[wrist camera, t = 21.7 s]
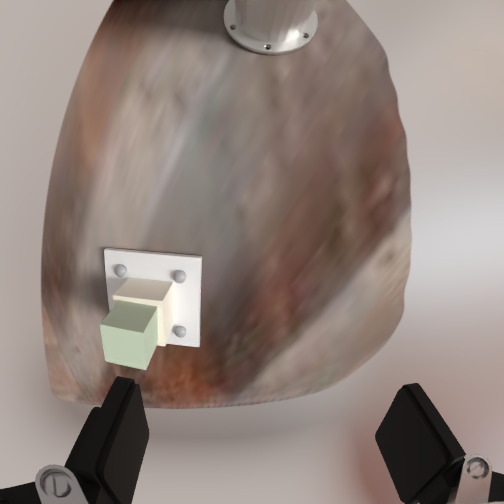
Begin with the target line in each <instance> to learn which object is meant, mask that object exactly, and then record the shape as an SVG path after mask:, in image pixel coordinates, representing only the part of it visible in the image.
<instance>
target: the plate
mask: <svg viewBox="0 0 504 504" xmlns="http://www.w3.org/2000/svg"><path fill="white" fill-rule="evenodd" d="M104 256H105V271H106V283H107V293H108V302H109V310H110V311H111V310H112V309H113V308H114V301H113V295H114V293H115V292H116V291H117V290H118V289H119V288H120V287H121V286H122V285H123V284H124V283H125V281H126V280H127V279H128V278H139V279H149V280H159V281H170V282H173V296H174V325H173V328H172V330H171V333H170V335H169V338H168V340H167V343H168V344H176V345H184V346H193V347H199V345H200V303H201V271H202V256H198V255H186V254H174V253H162V252H150V251H138V250H127V249H115V248H106V249H104Z"/></svg>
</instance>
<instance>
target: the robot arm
mask: <svg viewBox="0 0 504 504" xmlns="http://www.w3.org/2000/svg"><path fill="white" fill-rule="evenodd" d="M317 1H318V0H229V1H228V2H227V4H226V6H225V9H224V17H223V18H224V25H225V27H226V30H227V32H228V33H229V35H230V36H231V37H232V38H233V39H234V40H235V41H236V42H237V43H238V44H240V45H241V46H243V47H244V48H247V49H249V50H251V51H254V52H257V53H262V54H268V55H280V54H287V53H290V52H293V51H296V50H298V49H300V48H302V47H303V46H305V45H306V44H307V43H308V42H309V41H310V40H311V39H312V37H313V35H314V34H315V32H316V29H317V22H318V19H317V14H316V11H315V9H314V7H315V5H316V3H317ZM231 29H234V30H231ZM304 37H306V38H304ZM266 48H269V50H267V49H266ZM375 438H376V442H377V444H378V447H379V449H380V451H381V454H382V456H383V458H384V461H385V463H386V466H387V468H388V470H389V473H390V475H391V478H392V480H393V483H394V485H395V488H396V490H397V492H398V495H399V497H400V500H401V501H402V502H404V503H405V504H418V503H420V504H504V474H500V473H497V472H493V471H492V466H491V463H490V462H489V460H488V459H487V458H485V457H484V456H482V455H478V454H474V455H471V456H469V457H467V458H466V460H465V458H464V456H465V455H466V453H465V452H464V450H463V449H462V447H461V446H460V444H459V442H458V441H457V439H456V438H455V436H454V435H453V433H452V432H451V430H450V429H449V427H448V425H447V424H446V423H445V421H444V420H443V418H442V416H441V415H440V414H439V412H438V411H437V409H436V408H435V406H434V405H433V403H432V402H431V400H430V399H429V397H428V396H427V395H426V393H425V392H424V391H423V389H422V387H421V386H420V385H419V384H418V383H413V384H407V385H404V386H402V388H401V389H400V390H399V391H398V392H397V394H396V396H395V398H394V401H393V402H392V404H391V406H390V408H389V410H388V412H387V414H386V416H385V417H384V419H383V421H382V423H381V425H380V426H379V428H378V430H377V432H376V435H375ZM148 439H149V428H148V425H147V420H146V416H145V411H144V406H143V401H142V396H141V391H140V386H139V384H135V381H134V379H130V378H125V377H120V376H117V377H116V379H115V380H114V382H113V384H112V386H111V388H110V390H109V392H108V394H107V396H106V398H105V400H104V402H103V404H102V406H101V408H100V407H94V408H93V409H92V410H91V412H90V414H89V416H88V418H87V420H86V422H85V424H84V426H83V428H82V430H81V432H80V434H79V436H78V438H77V440H76V442H75V445H74V446H73V449H72V451H71V453H70V455H69V458H68V459H67V461H66V464H65V466H64V467H63V466H60V465H48V466H45V467H44V468H42V469H41V470H39V472H38V473H37V475H36V479H35V482H31V483H27V484H23V485H19V486H14V487H10V488H5V489H0V504H131V503H132V499H133V495H134V491H135V487H136V483H137V480H138V475H139V472H140V468H141V464H142V461H143V457H144V453H145V449H146V446H147V443H148Z"/></svg>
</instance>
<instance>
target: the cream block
mask: <svg viewBox="0 0 504 504" xmlns="http://www.w3.org/2000/svg"><path fill="white" fill-rule="evenodd" d="M119 300H122V301H127V302H133V303H139V304H145V305H151V306H158V343H157V345H159V346H166V343H167V340H168V338H169V335H170V333H171V330H172V328H173V325H174V296H173V282H170V281H159V280H149V279H139V278H128V279H127V280H126V281H125V283H124V284H123V285H122V286H121V287H120V288H119V289H118V290H117V291H116V292H115V293H114V295H113V301H114V306H115V305H116V304H117V303H118V302H119Z"/></svg>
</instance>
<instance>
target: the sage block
mask: <svg viewBox="0 0 504 504" xmlns="http://www.w3.org/2000/svg"><path fill="white" fill-rule="evenodd" d="M100 328H101V335H102V342H103V349H104V355H105V361H108V362H112V363H116V364H120V365H125V366H129V367H134V368H139V369H144V370H146V369H147V367H148V364H149V362H150V359H151V357H152V355H153V352H154V350H155V348H156V345H157V343H158V306H151V305H145V304H139V303H133V302H127V301H122V300H119V302H118V303H117V304H116V305H115V306H114V308H113V309H112V310H111V311H110V312H109V314H108V315H107V316H106V317H105V319H104V320H103V321H102V322H101V324H100Z"/></svg>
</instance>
